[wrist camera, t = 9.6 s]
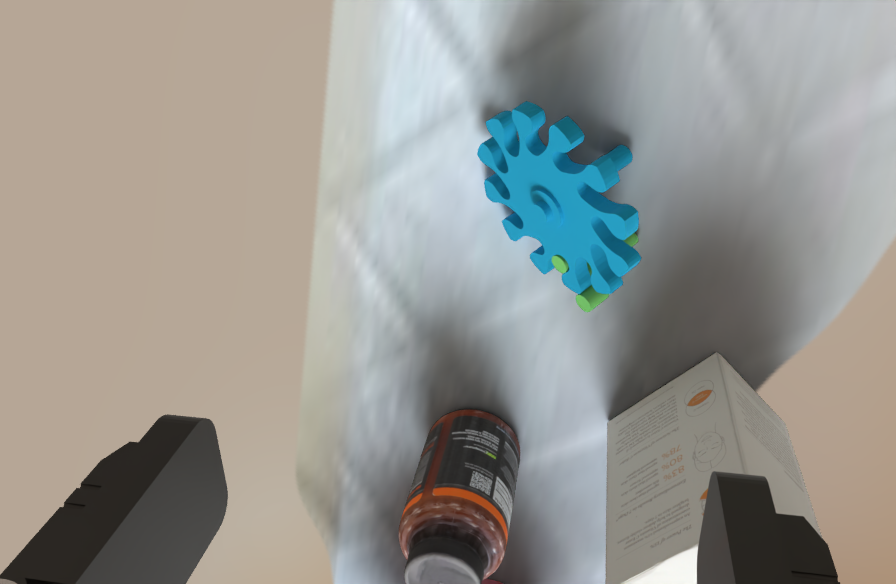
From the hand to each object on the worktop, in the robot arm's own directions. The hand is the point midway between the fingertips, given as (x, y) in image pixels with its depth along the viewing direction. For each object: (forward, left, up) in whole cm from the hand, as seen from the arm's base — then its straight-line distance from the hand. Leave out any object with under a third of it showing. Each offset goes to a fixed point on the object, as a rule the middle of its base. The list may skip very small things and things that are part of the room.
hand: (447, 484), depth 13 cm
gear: (0, +5, -30) cm, 30 cm away
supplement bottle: (+5, +23, -29) cm, 37 cm away
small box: (-8, +20, -30) cm, 36 cm away
